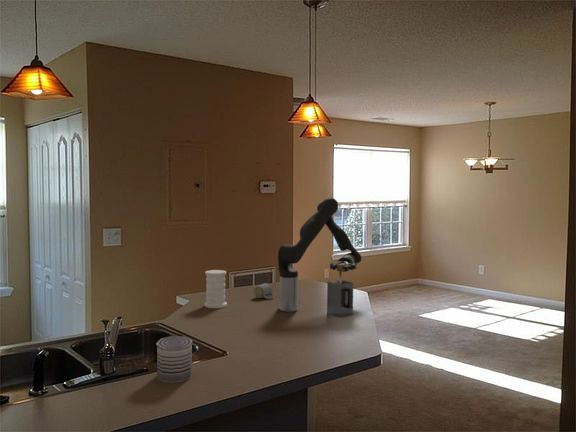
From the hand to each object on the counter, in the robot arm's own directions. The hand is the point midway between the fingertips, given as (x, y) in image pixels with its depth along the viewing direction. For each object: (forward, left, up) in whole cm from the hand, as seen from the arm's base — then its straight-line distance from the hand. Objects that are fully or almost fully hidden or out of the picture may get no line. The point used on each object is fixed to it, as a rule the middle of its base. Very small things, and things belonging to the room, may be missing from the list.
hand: (339, 268), depth 249 cm
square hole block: (0, +2, -23) cm, 23 cm away
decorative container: (-53, -38, -24) cm, 70 cm away
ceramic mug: (-53, -6, -24) cm, 58 cm away
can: (+25, -100, -24) cm, 106 cm away
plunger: (-1, +2, -19) cm, 19 cm away
